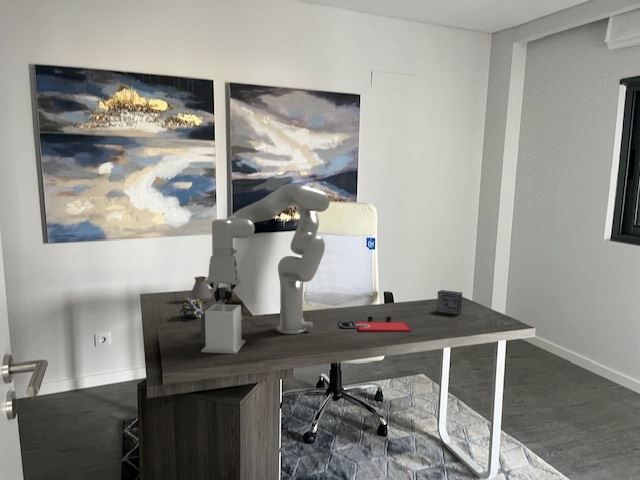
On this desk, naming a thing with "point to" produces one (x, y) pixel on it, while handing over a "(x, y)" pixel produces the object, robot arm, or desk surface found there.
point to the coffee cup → (236, 302)
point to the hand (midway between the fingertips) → (223, 300)
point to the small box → (449, 302)
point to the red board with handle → (377, 326)
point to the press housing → (222, 329)
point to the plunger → (222, 296)
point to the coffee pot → (201, 290)
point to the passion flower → (193, 307)
